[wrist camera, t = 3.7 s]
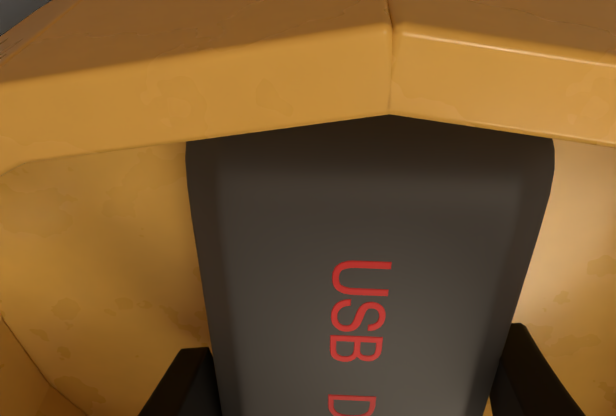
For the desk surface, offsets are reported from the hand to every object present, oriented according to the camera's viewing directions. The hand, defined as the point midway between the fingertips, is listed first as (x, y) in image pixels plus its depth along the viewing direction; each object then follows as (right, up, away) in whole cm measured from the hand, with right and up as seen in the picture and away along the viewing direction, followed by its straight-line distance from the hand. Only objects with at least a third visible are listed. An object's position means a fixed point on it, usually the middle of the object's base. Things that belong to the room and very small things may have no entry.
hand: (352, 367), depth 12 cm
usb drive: (0, +1, +1) cm, 1 cm away
